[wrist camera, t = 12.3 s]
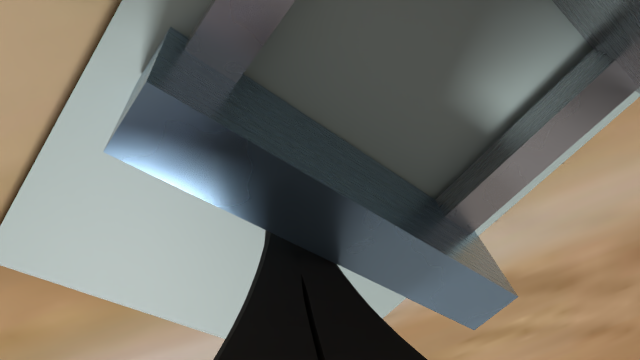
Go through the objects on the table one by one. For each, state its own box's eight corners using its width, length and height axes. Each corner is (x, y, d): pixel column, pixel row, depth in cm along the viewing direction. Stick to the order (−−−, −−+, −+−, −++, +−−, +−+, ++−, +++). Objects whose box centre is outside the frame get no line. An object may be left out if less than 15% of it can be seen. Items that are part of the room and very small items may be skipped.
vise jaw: (136, 82, 10) (95, 168, 7) (425, -398, 6) (573, -609, 4) (434, 252, 14) (482, 346, 11) (693, 21, 11) (852, 73, 8)
